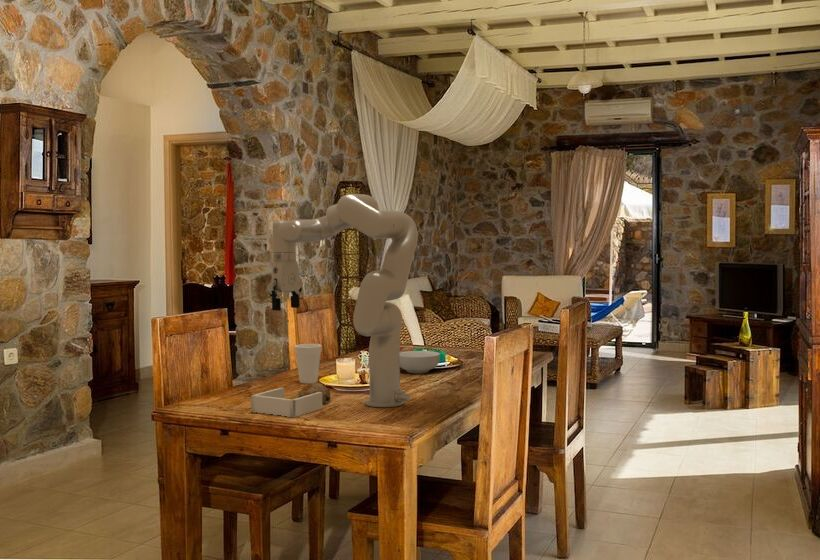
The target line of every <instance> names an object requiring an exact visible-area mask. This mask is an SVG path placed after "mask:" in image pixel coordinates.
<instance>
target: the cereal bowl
mask: <svg viewBox="0 0 820 560" xmlns="http://www.w3.org/2000/svg"><path fill="white" fill-rule="evenodd" d="M440 356H441V355H440V353H439V352H437V351H430V350H429V351H427V350H411V351H402V352H401V351H400V369H402V370H404V371H406V372H407V373H408V374H409V373H410V374H425V373H426V374H427V373H428V372H429V371H430V370H431V371H432V370H433V369H435V368H436V367H438V365H439V363H440V360H441V357H440Z"/></svg>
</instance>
